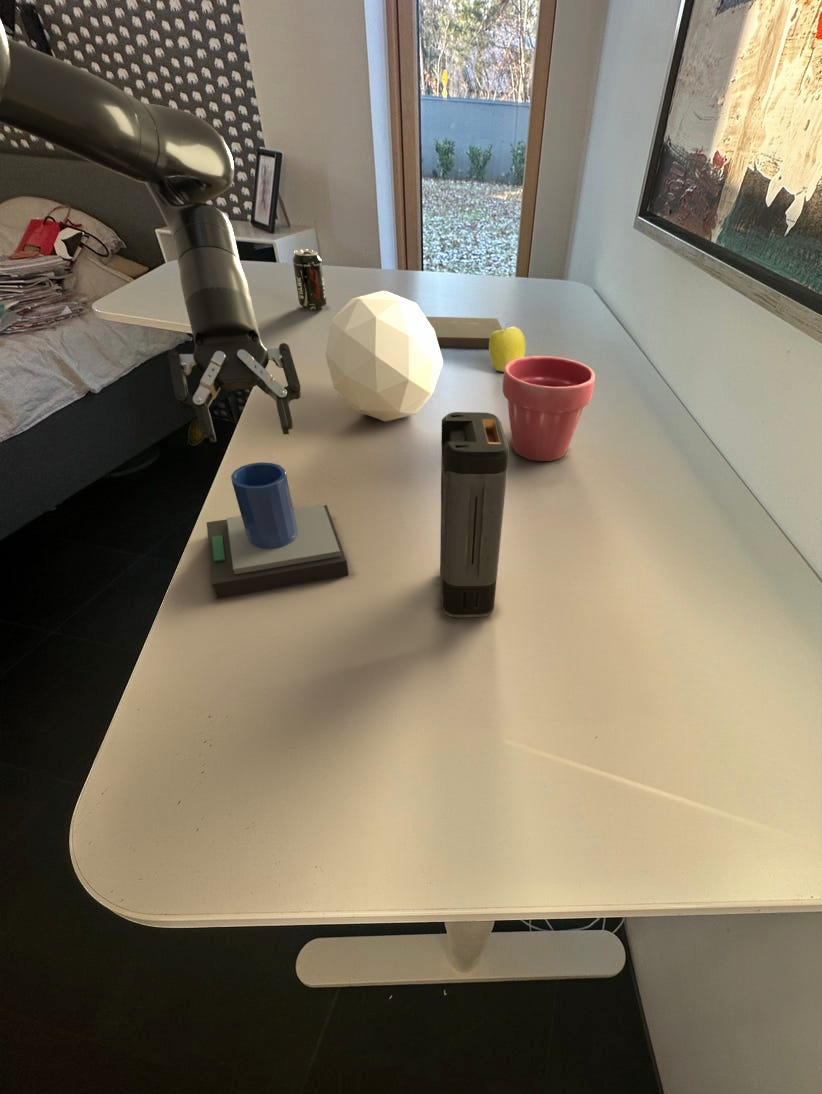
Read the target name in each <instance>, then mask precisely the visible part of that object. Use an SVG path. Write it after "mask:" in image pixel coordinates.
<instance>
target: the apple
mask: <svg viewBox="0 0 822 1094" xmlns="http://www.w3.org/2000/svg"><path fill="white" fill-rule="evenodd" d="M507 325H508V324H506V325H505V328H502V330H497V331H495V332H493V333H492V335H491V337H490V340H489V349H488V351H489V352H488V353H489V356H490V361H491V364H492V366H493V368H494V370H496V371H497V372H502V373H504V369H505V366H506V365H507V364H508V363H509V362H511V361H513V360H515V359H518V358H523V357H525V354H526V340H525V335H524V333H523V332H522V330H521V329H520V328H518V327H516V326H510V327H507Z"/></svg>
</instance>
